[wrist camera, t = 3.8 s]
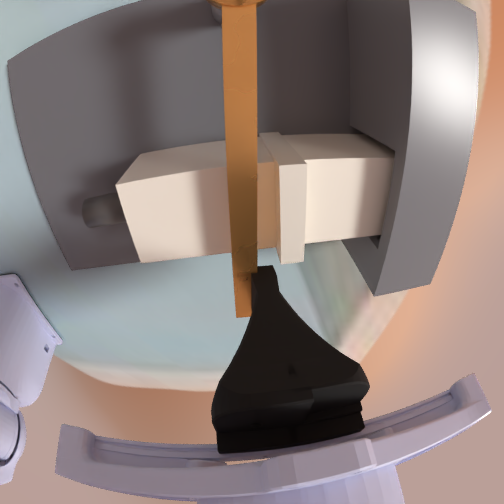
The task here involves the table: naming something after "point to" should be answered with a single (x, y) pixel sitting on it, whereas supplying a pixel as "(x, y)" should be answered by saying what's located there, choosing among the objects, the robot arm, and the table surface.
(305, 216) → the plug
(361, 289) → the table surface
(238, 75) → the ball-topped lever
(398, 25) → the grey base plate
